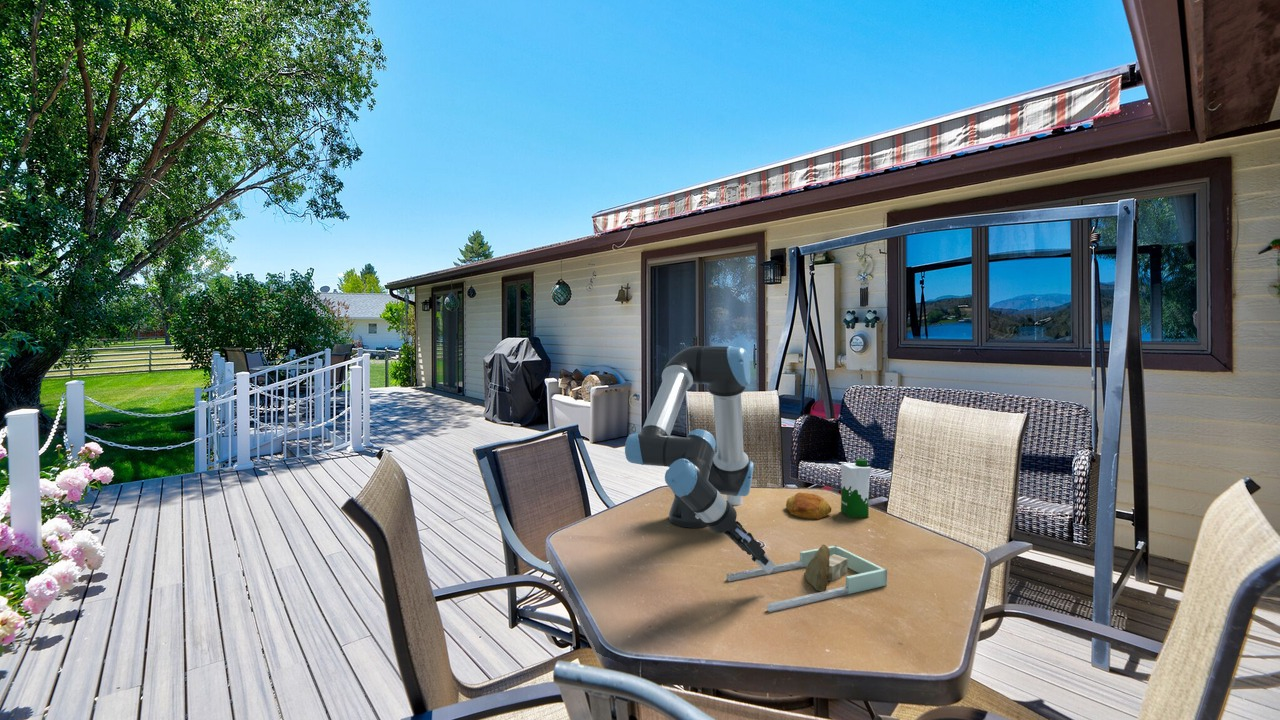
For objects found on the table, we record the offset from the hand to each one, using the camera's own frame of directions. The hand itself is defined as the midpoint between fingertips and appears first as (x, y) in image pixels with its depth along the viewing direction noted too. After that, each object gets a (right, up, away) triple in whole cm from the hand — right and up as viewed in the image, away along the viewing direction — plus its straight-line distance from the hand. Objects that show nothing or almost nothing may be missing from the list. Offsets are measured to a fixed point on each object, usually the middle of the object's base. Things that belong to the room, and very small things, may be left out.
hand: (770, 568), depth 136 cm
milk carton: (+45, -4, +61) cm, 76 cm away
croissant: (+28, -4, +62) cm, 68 cm away
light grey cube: (+18, -6, +9) cm, 21 cm away
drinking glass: (+4, -3, +73) cm, 73 cm away
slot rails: (+4, -5, +2) cm, 7 cm away
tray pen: (+21, -5, +9) cm, 23 cm away
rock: (+13, -6, +5) cm, 15 cm away
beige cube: (+21, -5, +11) cm, 24 cm away
